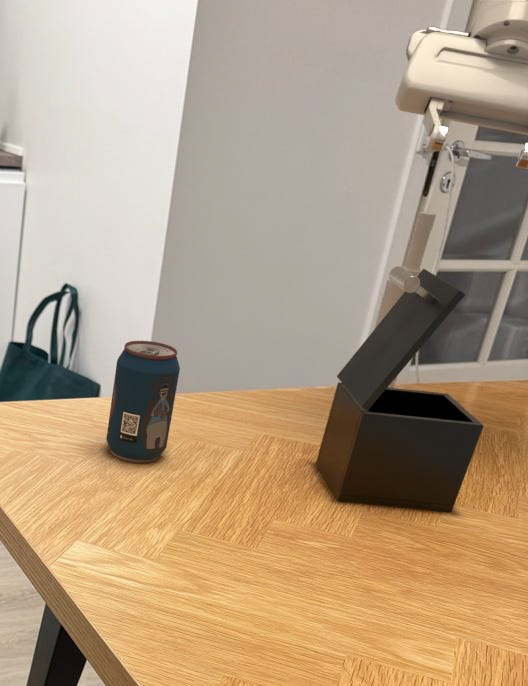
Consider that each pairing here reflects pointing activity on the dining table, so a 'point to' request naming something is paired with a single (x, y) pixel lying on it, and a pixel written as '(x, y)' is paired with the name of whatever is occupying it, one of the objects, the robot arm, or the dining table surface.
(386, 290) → the white round tapered piece
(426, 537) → the dining table surface
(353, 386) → the bin lid
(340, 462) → the bin
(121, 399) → the soda can
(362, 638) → the dining table surface
